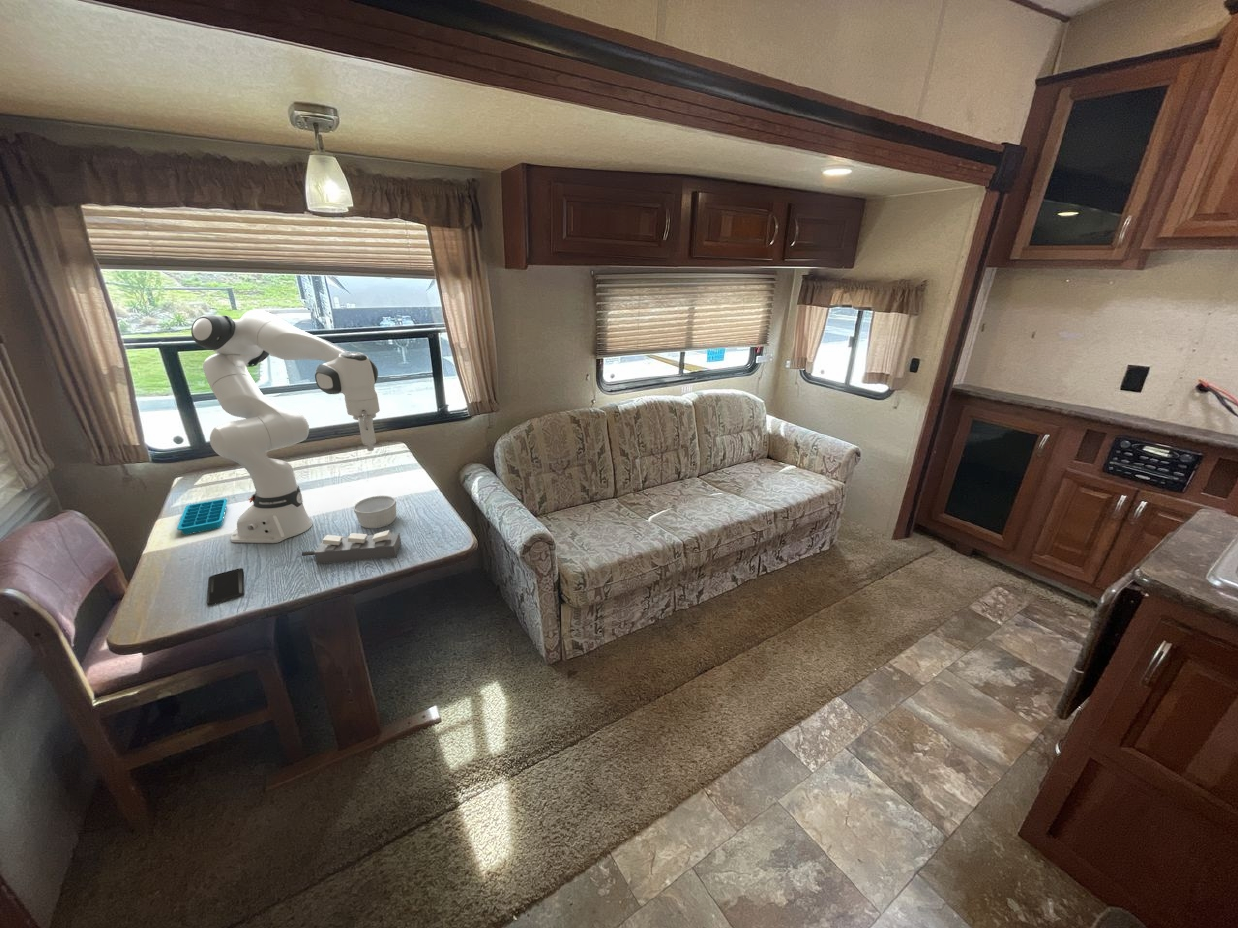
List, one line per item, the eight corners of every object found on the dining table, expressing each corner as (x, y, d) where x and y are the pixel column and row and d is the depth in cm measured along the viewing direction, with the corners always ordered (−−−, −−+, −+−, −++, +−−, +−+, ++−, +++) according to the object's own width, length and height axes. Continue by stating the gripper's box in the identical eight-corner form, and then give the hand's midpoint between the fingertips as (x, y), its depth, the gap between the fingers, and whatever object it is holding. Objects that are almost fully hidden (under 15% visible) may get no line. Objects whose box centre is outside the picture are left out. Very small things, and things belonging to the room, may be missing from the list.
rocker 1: (322, 543, 144) (322, 539, 144) (326, 538, 147) (326, 534, 147) (338, 545, 146) (339, 541, 145) (342, 540, 148) (342, 536, 148)
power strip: (298, 565, 143) (294, 552, 141) (308, 551, 150) (305, 538, 148) (395, 557, 148) (393, 544, 146) (401, 543, 155) (399, 531, 154)
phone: (242, 567, 140) (243, 593, 129) (243, 570, 141) (244, 597, 130) (208, 576, 136) (205, 604, 125) (209, 579, 136) (207, 608, 125)
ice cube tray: (179, 537, 156) (176, 529, 155) (188, 512, 172) (186, 505, 171) (224, 528, 162) (221, 521, 161) (229, 505, 178) (227, 497, 177)
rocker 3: (374, 542, 148) (372, 538, 147) (376, 537, 150) (374, 533, 150) (388, 538, 148) (386, 534, 147) (390, 533, 151) (389, 529, 150)
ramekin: (353, 532, 161) (349, 514, 158) (361, 514, 173) (357, 497, 170) (395, 528, 164) (392, 510, 162) (401, 510, 176) (398, 493, 174)
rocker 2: (348, 541, 146) (348, 537, 145) (351, 536, 149) (351, 532, 148) (364, 543, 147) (364, 539, 146) (366, 538, 150) (366, 534, 149)
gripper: (376, 414, 140) (384, 458, 145) (372, 398, 157) (379, 438, 162) (351, 416, 137) (360, 462, 142) (350, 400, 154) (358, 441, 159)
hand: (370, 449), depth 152 cm, fingers closed
